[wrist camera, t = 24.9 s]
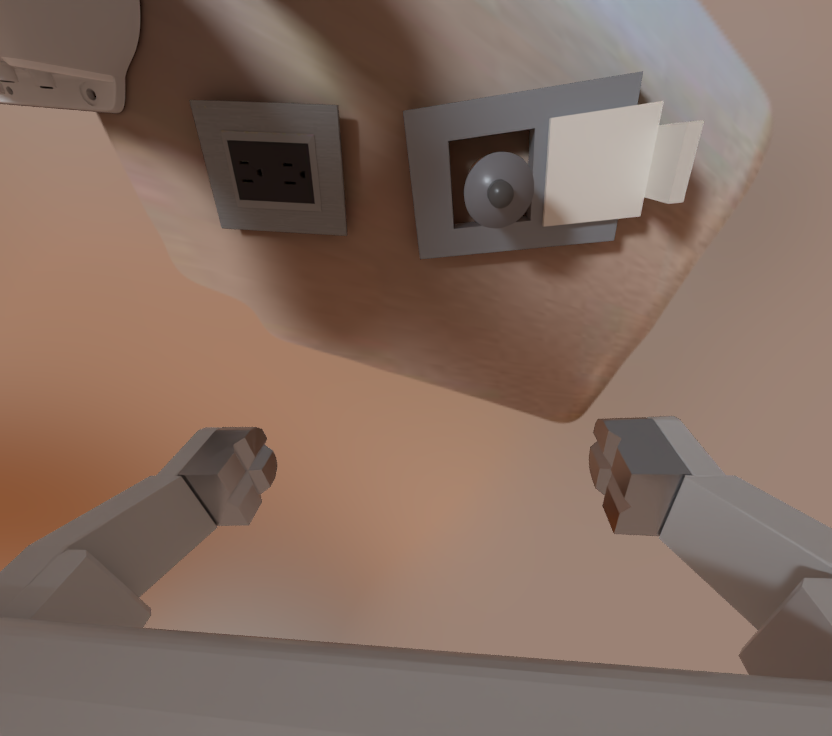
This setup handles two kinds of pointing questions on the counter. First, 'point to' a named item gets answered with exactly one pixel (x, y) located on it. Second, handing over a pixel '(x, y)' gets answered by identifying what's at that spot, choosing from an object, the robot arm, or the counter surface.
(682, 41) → the counter surface
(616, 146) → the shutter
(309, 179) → the electrical outlet
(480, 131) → the socket block
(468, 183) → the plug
